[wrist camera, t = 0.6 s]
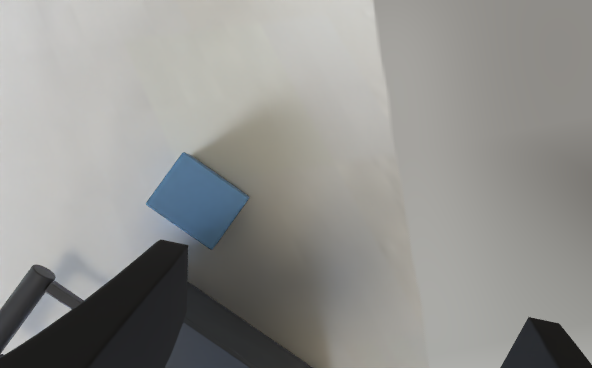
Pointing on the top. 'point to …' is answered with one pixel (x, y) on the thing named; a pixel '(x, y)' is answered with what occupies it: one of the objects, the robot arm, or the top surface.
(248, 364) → the small drawer box
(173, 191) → the block
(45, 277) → the grey drawer
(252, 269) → the top surface
